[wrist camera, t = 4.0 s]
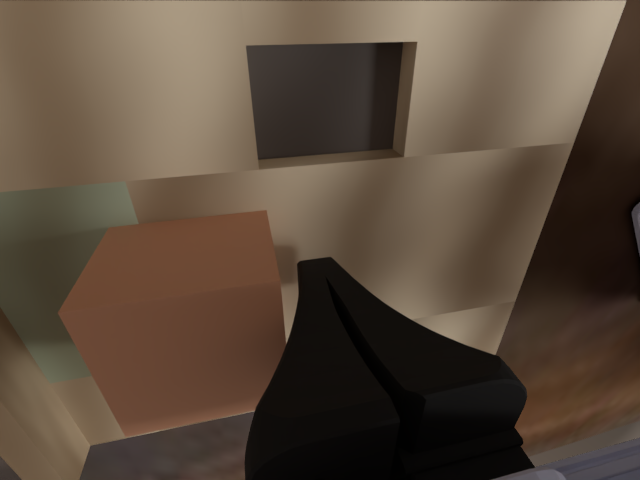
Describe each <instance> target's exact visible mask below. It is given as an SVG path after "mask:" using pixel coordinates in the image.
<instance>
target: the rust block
mask: <svg viewBox="0 0 640 480" xmlns="http://www.w3.org/2000/svg"><path fill="white" fill-rule="evenodd" d="M58 314H59V316H60V318H61V320H62V322H63V324H64V325H65V327H66V329H67V331H68V333H69V334H70V336H71V338H72V340H73V342H74V344H75V345H76V347H77V349H78V351H79V353H80V355H81V356H82V358H83V360H84V362H85V364H86V366H87V367H88V369H89V371H90V373H91V375H92V377H93V378H94V380H95V382H96V384H97V386H98V388H99V389H100V391H101V393H102V395H103V397H104V399H105V400H106V402H107V404H108V406H109V408H110V410H111V411H112V413H113V415H114V417H115V419H116V420H117V422H118V424H119V426H120V428H121V430H122V431H123V433H124V435H125V437H129V436H134V435H139V434H144V433H149V432H153V431H158V430H163V429H168V428H173V427H178V426H182V425H187V424H192V423H197V422H202V421H207V420H211V419H216V418H221V417H226V416H231V415H236V414H240V413H245V412H250V411H255V409H256V406H257V404H258V403H259V401H260V399H261V397H262V395H263V394H264V392H265V390H266V388H267V387H268V385H269V383H270V381H271V379H272V377H273V375H274V372H275V370H276V368H277V366H278V364H279V362H280V359H281V357H282V354H283V352H284V349H285V346H286V335H285V325H284V314H283V303H282V292H281V281H280V276H279V271H278V266H277V261H276V256H275V251H274V246H273V240H272V235H271V230H270V225H269V220H268V215H267V210H263V211H254V212H245V213H235V214H226V215H217V216H208V217H199V218H190V219H180V220H171V221H162V222H153V223H144V224H135V225H126V226H117V227H109V228H108V230H107V231H106V233H105V235H104V236H103V238H102V240H101V241H100V243H99V245H98V246H97V248H96V250H95V251H94V253H93V255H92V256H91V258H90V260H89V261H88V263H87V265H86V266H85V268H84V270H83V271H82V273H81V275H80V276H79V278H78V280H77V281H76V283H75V285H74V286H73V288H72V290H71V291H70V293H69V295H68V296H67V298H66V300H65V301H64V303H63V305H62V306H61V308H60V310H59V311H58Z"/></svg>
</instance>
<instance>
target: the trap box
mask: <svg viewBox="0 0 640 480" xmlns="http://www.w3.org/2000/svg"><path fill="white" fill-rule="evenodd" d="M625 3H626V1H181V0H0V456H1V457H2V458H3V459H4V461H5V462H6V463H7V464H8V465H9V466H10V467H11V468H12V469H13V470H14V471H15V472H16V474H17V475H18V476H19V477H20V478H21V479H22V480H79V478H80V475H81V472H82V469H83V466H84V463H85V460H86V457H87V454H88V451H89V448H90V446H91V445H96V444H100V443H105V442H110V441H115V440H119V439H124V438H129V437H134V436H138V435H134V436H129V437H125V435H124V433H123V431H122V430H121V428H120V426H119V424H118V422H117V420H116V419H115V417H114V415H113V413H112V411H111V410H110V408H109V406H108V404H107V402H106V400H105V399H104V397H103V395H102V393H101V391H100V389H99V388H98V386H97V384H96V382H95V380H94V378H93V377H92V375H91V373H90V371H89V369H88V367H87V366H86V364H85V362H84V360H83V358H82V356H81V355H80V353H79V351H78V349H77V347H76V345H75V344H74V342H73V340H72V338H71V336H70V334H69V333H68V331H67V329H66V327H65V325H64V324H63V322H62V320H61V318H60V316H59V314H58V311H59V310H60V308H61V306H62V305H63V303H64V301H65V300H66V298H67V296H68V295H69V293H70V291H71V290H72V288H73V286H74V285H75V283H76V281H77V280H78V278H79V276H80V275H81V273H82V271H83V270H84V268H85V266H86V265H87V263H88V261H89V260H90V258H91V256H92V255H93V253H94V251H95V250H96V248H97V246H98V245H99V243H100V241H101V240H102V238H103V236H104V235H105V233H106V231H107V230H108V228H109V227H117V226H126V225H135V224H144V223H153V222H162V221H171V220H180V219H190V218H199V217H208V216H217V215H226V214H235V213H245V212H254V211H263V210H267V215H268V220H269V225H270V230H271V235H272V240H273V246H274V251H275V256H276V261H277V266H278V271H279V276H280V281H281V292H282V303H283V314H284V325H285V335H286V344H287V341H288V338H289V335H290V332H291V328H292V325H293V321H294V317H295V312H296V307H297V302H298V294H299V293H298V275H297V263H298V262H299V261H303V260H310V259H317V258H325V257H332V258H333V259H334V260H335V261H336V262H337V263H338V264H339V265H340V266H341V267H342V268H343V269H345V270H346V271H347V272H348V273H349V274H350V275H351V276H352V277H353V278H354V279H355V280H357V281H358V282H359V283H360V284H361V285H362V286H364V287H365V288H366V289H367V290H368V291H370V292H371V293H372V294H373V295H375V296H376V297H377V298H379V299H380V300H381V301H383V302H384V303H385V304H387V305H388V306H390V307H391V308H393V309H395V310H396V311H398V312H399V313H401V314H403V315H404V316H406V317H407V318H409V319H411V320H413V321H415V322H416V323H418V324H420V325H422V326H424V327H426V328H428V329H430V330H432V331H434V332H436V333H439V334H441V335H443V336H445V337H448V338H450V339H452V340H455V341H457V342H460V343H462V344H465V345H467V346H470V347H473V348H476V349H479V350H482V351H485V352H488V353H491V354H493V355H496V352H497V349H498V347H499V344H500V341H501V338H502V336H503V333H504V330H505V328H506V325H507V322H508V319H509V317H510V314H511V311H512V309H513V306H514V303H515V301H516V298H517V295H518V292H519V290H520V287H521V284H522V282H523V279H524V276H525V274H526V271H527V268H528V265H529V263H530V260H531V257H532V255H533V252H534V249H535V247H536V244H537V241H538V238H539V236H540V233H541V230H542V228H543V225H544V222H545V220H546V217H547V214H548V211H549V209H550V206H551V203H552V201H553V198H554V195H555V193H556V190H557V187H558V184H559V182H560V179H561V176H562V174H563V171H564V168H565V165H566V163H567V160H568V157H569V155H570V152H571V149H572V147H573V144H574V141H575V138H576V136H577V133H578V130H579V128H580V125H581V122H582V120H583V117H584V114H585V111H586V109H587V106H588V103H589V101H590V98H591V95H592V93H593V90H594V87H595V84H596V82H597V79H598V76H599V74H600V71H601V68H602V66H603V63H604V60H605V57H606V55H607V52H608V49H609V47H610V44H611V41H612V38H613V36H614V33H615V30H616V28H617V25H618V22H619V20H620V17H621V14H622V11H623V9H624V6H625ZM250 412H253V411H250ZM245 413H248V412H245ZM240 414H243V413H240ZM236 415H239V414H236ZM231 416H234V415H231ZM226 417H229V416H226ZM221 418H224V417H221ZM216 419H219V418H216ZM211 420H215V419H211ZM207 421H210V420H207ZM202 422H205V421H202ZM197 423H200V422H197ZM192 424H196V423H192ZM187 425H191V424H187ZM182 426H186V425H182ZM178 427H181V426H178ZM173 428H177V427H173ZM168 429H172V428H168ZM163 430H167V429H163ZM158 431H162V430H158ZM158 431H153V432H158ZM153 432H149V433H153ZM144 434H148V433H144ZM139 435H143V434H139Z"/></svg>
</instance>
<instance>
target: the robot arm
mask: <svg viewBox="0 0 640 480" xmlns="http://www.w3.org/2000/svg"><path fill="white" fill-rule="evenodd" d="M632 219H633V224H634V229H635V235H636V240H637V245H638V250H639V255H640V202H639V203H638V204H637V205H636V206H635V207H634V208H633V210H632ZM297 275H298V293H299V294H298V302H297V307H296V312H295V317H294V321H293V325H292V328H291V332H290V335H289V338H288V341H287V344H286V346H285V349H284V352H283V354H282V357H281V359H280V362H279V364H278V366H277V368H276V370H275V372H274V375H273V377H272V379H271V381H270V383H269V385H268V387H267V388H266V390H265V392H264V394H263V395H262V397H261V399H260V401H259V403H258V404H257V406H256V409H255V413H254V417H253V420H252V424H251V428H250V432H249V436H248V441H247V446H246V453H245V480H640V438H637V439H633V440H630V441H626V442H623V443H619V444H615V445H612V446H609V447H605V448H601V449H598V450H594V451H591V452H587V453H584V454H580V455H576V456H573V457H569V458H566V459H562V460H558V461H555V462H551V463H548V464H544V465H541V466H537V467H534V465H533V464H532V462H531V461H530V459H529V458H528V457H527V455H526V454H525V452H524V451H523V449H522V448H521V447H520V446H521V445H522V444H523V439H522V437H521V436H520V435H519V433H518V432H517V430H516V429H515V428H514V426H515V424H516V422H517V420H518V418H519V416H520V414H521V412H522V410H523V408H524V405H525V402H526V399H527V392H526V388H525V387H524V386H523V384H522V383H521V382H520V380H519V379H518V378H517V377H516V375H515V374H514V373H513V372H512V370H511V369H510V368H509V367H508V366H507V365H506V364H505V362H504V361H503V360H502V359H501V358H500V357H499V356H496V355H493V354H491V353H488V352H485V351H482V350H479V349H476V348H473V347H470V346H467V345H465V344H462V343H460V342H457V341H455V340H452V339H450V338H448V337H445V336H443V335H441V334H439V333H436V332H434V331H432V330H430V329H428V328H426V327H424V326H422V325H420V324H418V323H416V322H415V321H413V320H411V319H409V318H407V317H406V316H404V315H403V314H401V313H399V312H398V311H396V310H395V309H393V308H391V307H390V306H388V305H387V304H385V303H384V302H383V301H381V300H380V299H379V298H377V297H376V296H375V295H373V294H372V293H371V292H370V291H368V290H367V289H366V288H365V287H364V286H362V285H361V284H360V283H359V282H358V281H357V280H355V279H354V278H353V277H352V276H351V275H350V274H349V273H348V272H347V271H346V270H345V269H343V268H342V267H341V266H340V265H339V264H338V263H337V262H336V261H335V260H334V259H333V258H332V257H325V258H317V259H310V260H303V261H299V262H298V263H297Z"/></svg>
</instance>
